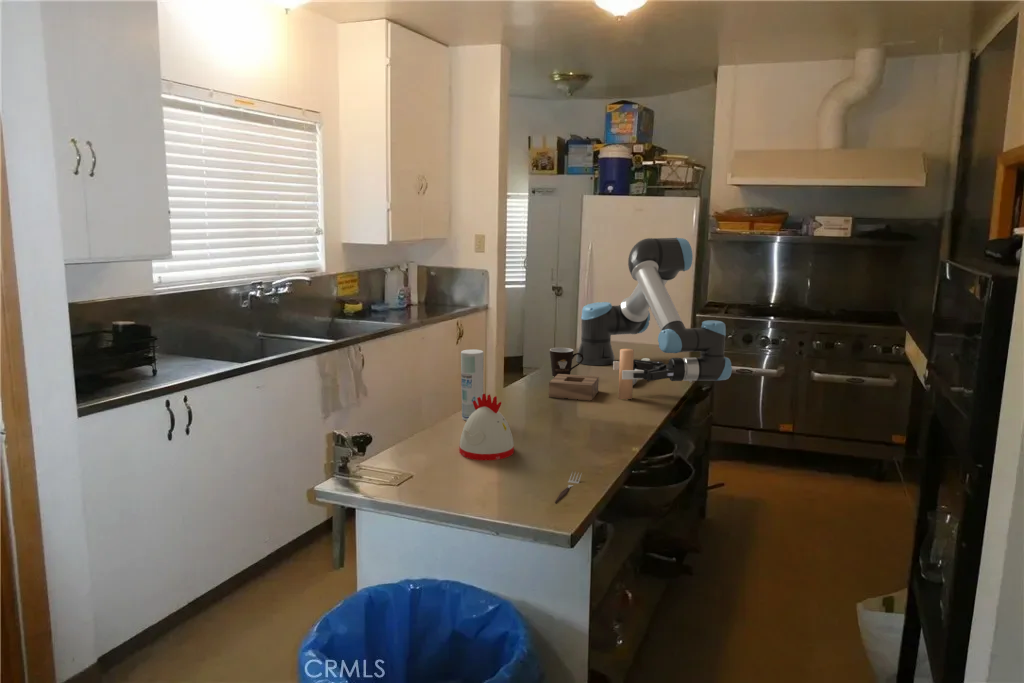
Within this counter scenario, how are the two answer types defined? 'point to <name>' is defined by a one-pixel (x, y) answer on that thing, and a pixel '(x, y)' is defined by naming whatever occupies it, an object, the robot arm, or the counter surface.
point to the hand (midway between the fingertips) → (617, 370)
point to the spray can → (471, 380)
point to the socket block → (573, 386)
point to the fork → (568, 487)
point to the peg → (624, 364)
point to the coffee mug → (562, 360)
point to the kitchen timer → (486, 432)
